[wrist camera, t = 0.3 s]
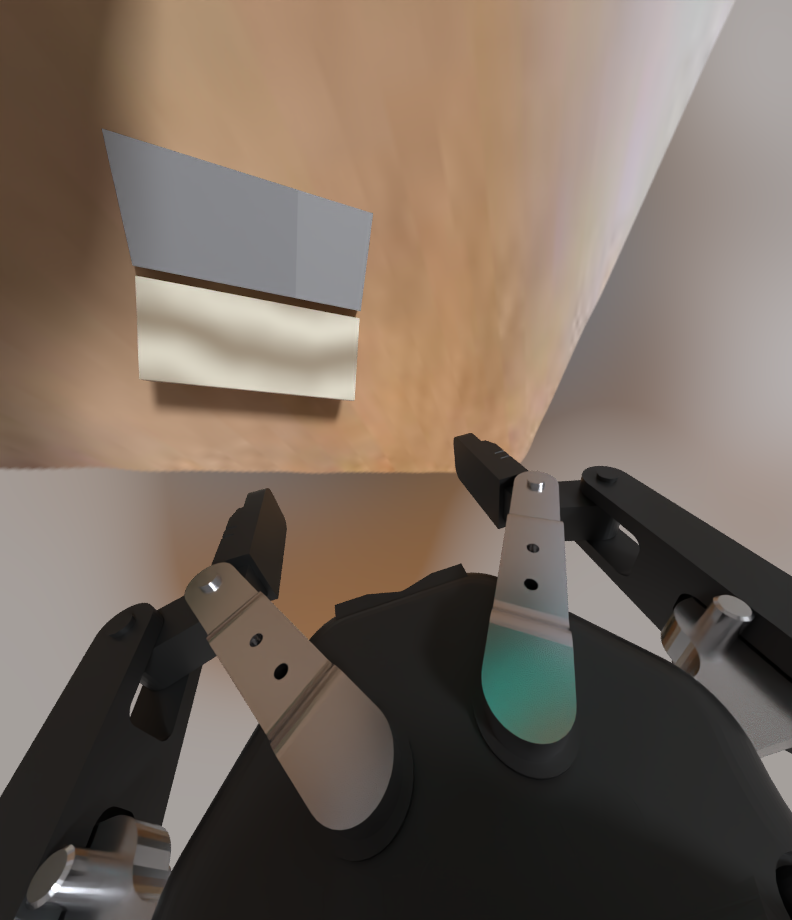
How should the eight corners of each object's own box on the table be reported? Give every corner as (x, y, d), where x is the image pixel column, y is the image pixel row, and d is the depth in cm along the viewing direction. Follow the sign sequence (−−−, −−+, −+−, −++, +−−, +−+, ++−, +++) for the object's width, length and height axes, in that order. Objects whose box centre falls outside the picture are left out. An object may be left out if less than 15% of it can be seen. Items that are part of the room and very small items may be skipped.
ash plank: (144, 283, 24) (135, 275, 23) (356, 322, 30) (359, 318, 29) (148, 380, 25) (139, 379, 24) (352, 400, 31) (354, 400, 30)
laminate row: (113, 136, 20) (101, 128, 19) (369, 215, 26) (373, 213, 24) (141, 264, 24) (132, 265, 23) (358, 308, 30) (360, 311, 28)
